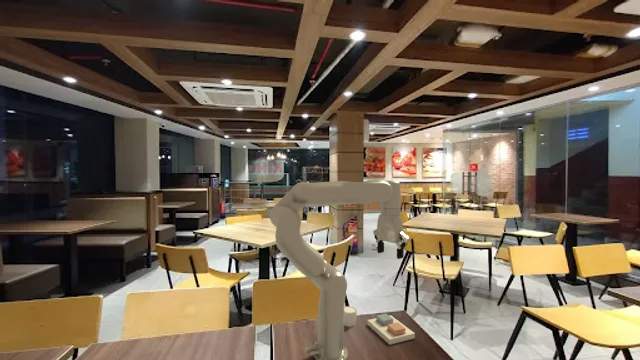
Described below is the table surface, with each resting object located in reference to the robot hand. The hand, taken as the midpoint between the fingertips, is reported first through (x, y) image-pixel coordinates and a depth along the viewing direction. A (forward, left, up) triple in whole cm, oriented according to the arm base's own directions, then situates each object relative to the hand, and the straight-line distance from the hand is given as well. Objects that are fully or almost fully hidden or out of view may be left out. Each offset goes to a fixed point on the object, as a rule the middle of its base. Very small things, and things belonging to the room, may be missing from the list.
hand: (390, 255), depth 119 cm
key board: (+4, +4, -34) cm, 35 cm away
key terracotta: (+4, 0, -32) cm, 32 cm away
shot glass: (-9, +16, -34) cm, 39 cm away
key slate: (+4, +8, -32) cm, 33 cm away
